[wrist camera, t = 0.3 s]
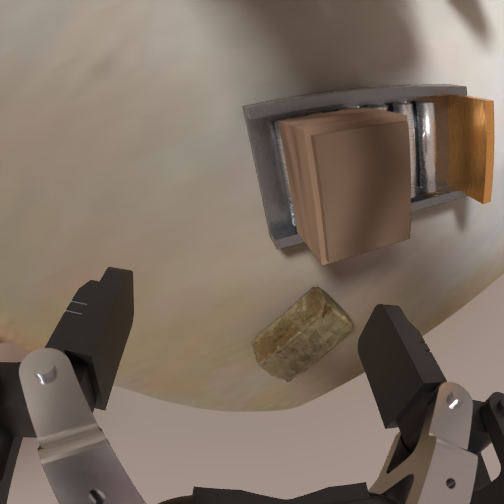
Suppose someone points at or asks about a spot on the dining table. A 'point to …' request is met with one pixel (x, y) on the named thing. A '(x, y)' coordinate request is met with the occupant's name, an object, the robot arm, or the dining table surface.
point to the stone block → (301, 335)
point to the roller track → (331, 104)
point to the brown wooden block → (349, 180)
